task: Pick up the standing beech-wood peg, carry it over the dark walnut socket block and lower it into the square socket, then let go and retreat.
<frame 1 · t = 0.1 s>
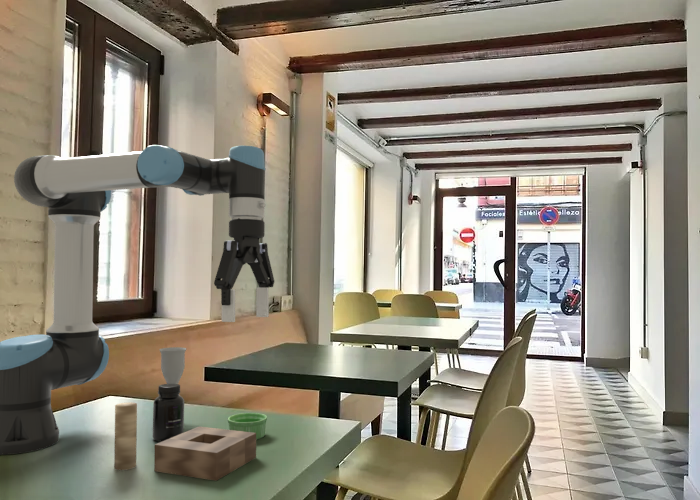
hand: (246, 319, 123), 28 cm above the table, fingers open, 13 cm apart
socket block: (206, 464, 114), on the table
ramekin: (247, 437, 134), on the table
chalice: (172, 420, 149), on the table
supplement bottle: (168, 438, 133), on the table
peg: (125, 466, 113), on the table
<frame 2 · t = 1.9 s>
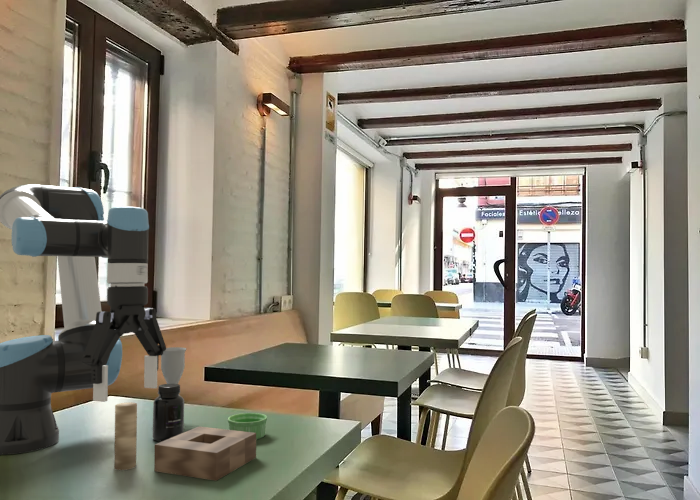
hand: (126, 394, 113), 14 cm above the table, fingers open, 13 cm apart
nothing on the table moved.
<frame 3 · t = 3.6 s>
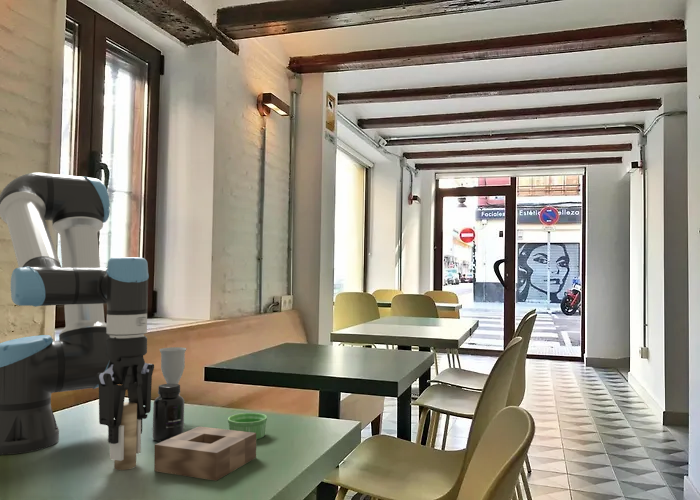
hand: (125, 455, 113), 2 cm above the table, fingers closed on peg, 4 cm apart
peg: (125, 466, 113), on the table, touching gripper
everything else where it was.
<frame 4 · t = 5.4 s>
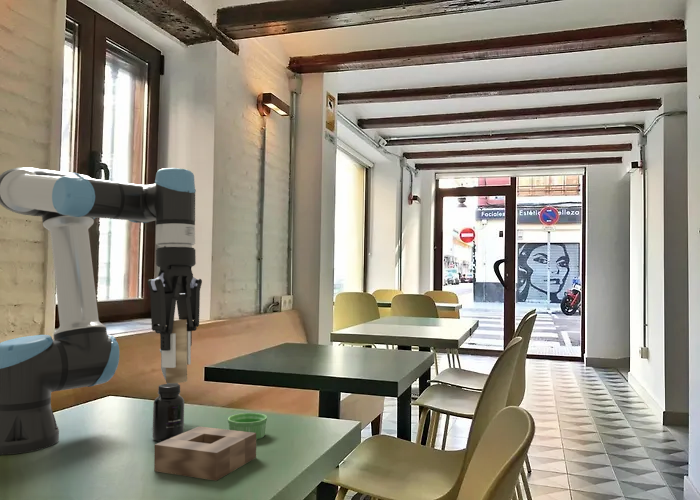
hand: (176, 365, 114), 20 cm above the table, fingers closed on peg, 4 cm apart
peg: (176, 381, 114), point 17 cm above the table, touching gripper
everything else where it was.
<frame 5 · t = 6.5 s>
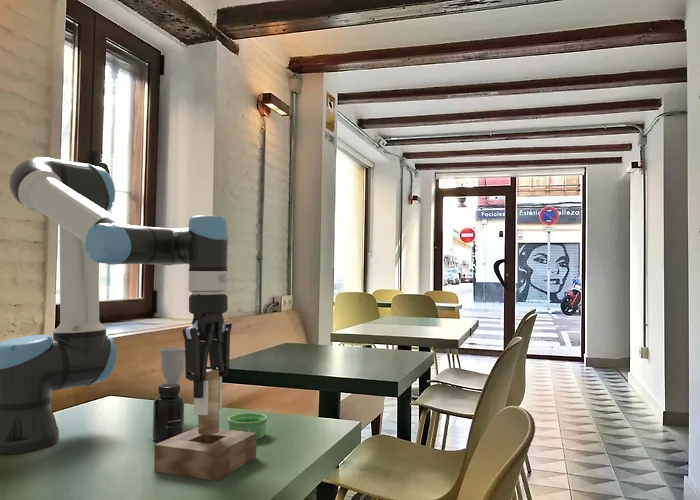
hand: (208, 411, 115), 10 cm above the table, fingers closed on peg, 4 cm apart
peg: (208, 431, 114), point 6 cm above the table, touching gripper
everything else where it was.
when the fingers open (6 cm above the table, at t = 7.4 s): peg drops 2 cm, resting in socket block.
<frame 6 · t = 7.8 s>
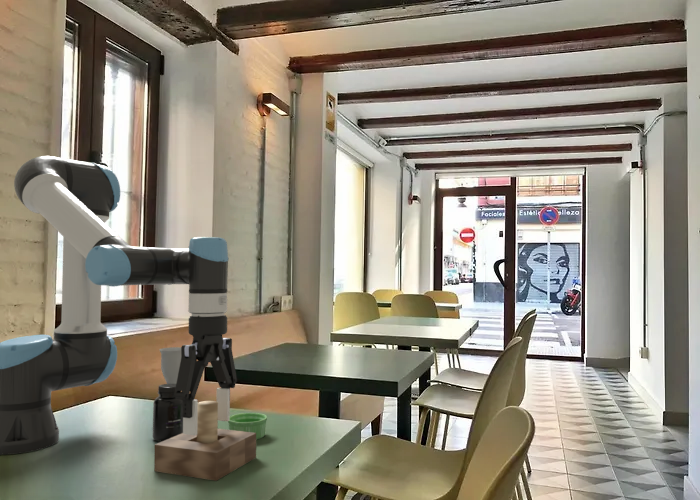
hand: (207, 426, 115), 7 cm above the table, fingers open, 10 cm apart
peg: (206, 464, 114), resting in socket block
everything else where it was.
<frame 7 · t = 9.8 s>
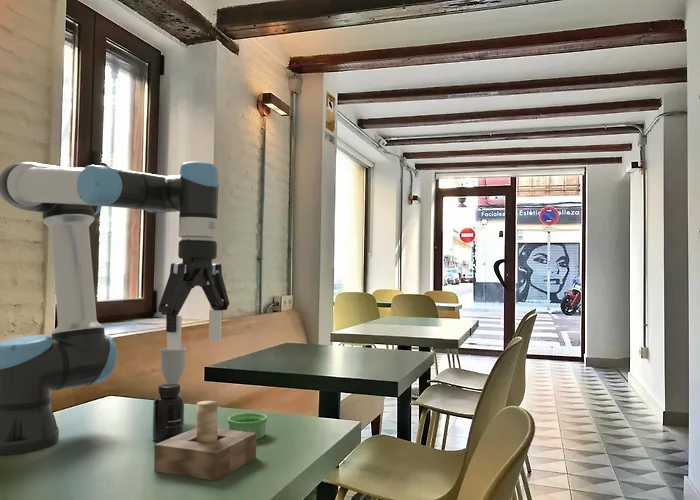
hand: (195, 345, 117), 23 cm above the table, fingers open, 13 cm apart
nothing on the table moved.
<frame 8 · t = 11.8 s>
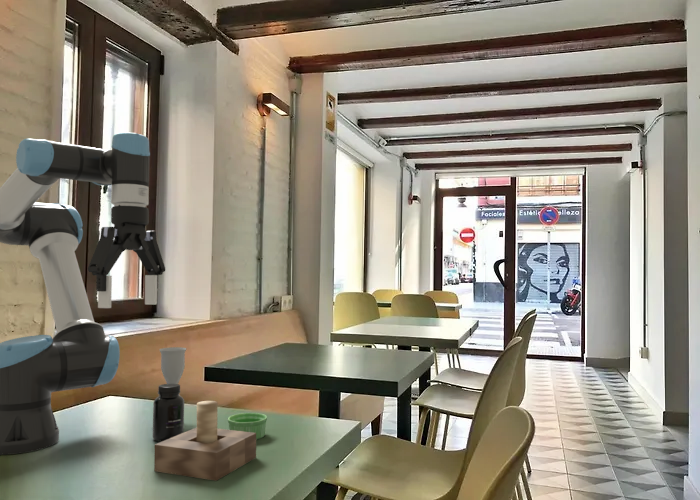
hand: (128, 306, 123), 31 cm above the table, fingers open, 13 cm apart
nothing on the table moved.
at the end: peg 0.0 cm off-centre on the socket block, point 0.0 cm above the socket block's base; peg tilted 0°; the gripper is holding nothing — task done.
